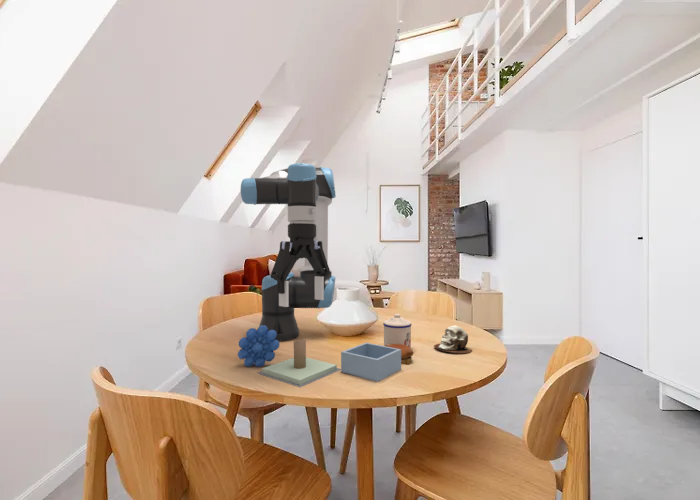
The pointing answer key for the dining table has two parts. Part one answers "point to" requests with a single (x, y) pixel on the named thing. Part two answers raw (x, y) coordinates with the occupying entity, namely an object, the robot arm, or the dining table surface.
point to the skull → (454, 340)
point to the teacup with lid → (397, 331)
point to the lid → (299, 366)
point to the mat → (297, 384)
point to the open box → (371, 361)
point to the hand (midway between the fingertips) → (302, 302)
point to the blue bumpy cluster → (258, 346)
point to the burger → (403, 352)
